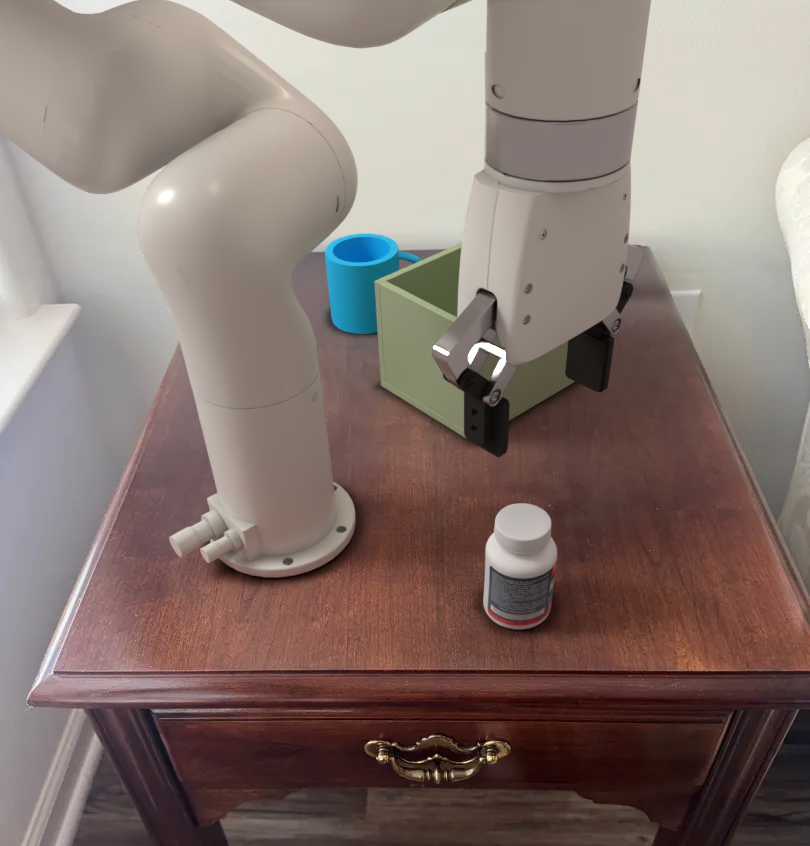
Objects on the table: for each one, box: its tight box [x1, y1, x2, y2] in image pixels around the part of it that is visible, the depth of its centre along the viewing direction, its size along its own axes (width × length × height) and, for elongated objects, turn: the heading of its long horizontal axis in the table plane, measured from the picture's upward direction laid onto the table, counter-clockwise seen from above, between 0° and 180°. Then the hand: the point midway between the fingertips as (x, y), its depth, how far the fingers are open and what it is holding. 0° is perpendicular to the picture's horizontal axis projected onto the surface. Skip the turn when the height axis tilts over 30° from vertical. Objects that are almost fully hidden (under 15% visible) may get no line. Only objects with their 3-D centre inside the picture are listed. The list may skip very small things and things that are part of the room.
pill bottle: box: [482, 502, 558, 630], centre depth 63 cm, size 5×5×9 cm
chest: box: [375, 242, 576, 440], centre depth 85 cm, size 16×14×12 cm
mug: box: [324, 233, 423, 335], centre depth 97 cm, size 12×8×8 cm
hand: (537, 413), depth 55 cm, fingers open, 9 cm apart
